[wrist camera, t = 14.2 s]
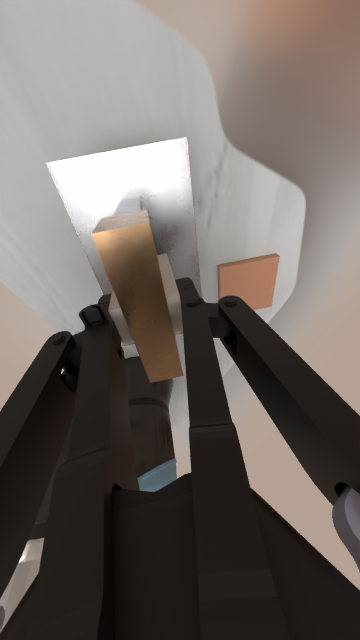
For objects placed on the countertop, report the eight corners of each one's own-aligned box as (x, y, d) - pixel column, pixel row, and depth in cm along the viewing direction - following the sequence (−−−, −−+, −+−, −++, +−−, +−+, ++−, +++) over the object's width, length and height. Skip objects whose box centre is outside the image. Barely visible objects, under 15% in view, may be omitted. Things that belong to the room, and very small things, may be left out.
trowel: (201, 310, 25) (233, 386, 17) (120, 327, 25) (111, 413, 16) (184, 138, 15) (242, 109, 7) (49, 163, 15) (-67, 165, 6)
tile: (274, 252, 35) (267, 301, 41) (216, 264, 34) (218, 311, 41) (279, 256, 34) (271, 306, 40) (220, 268, 33) (221, 317, 39)
